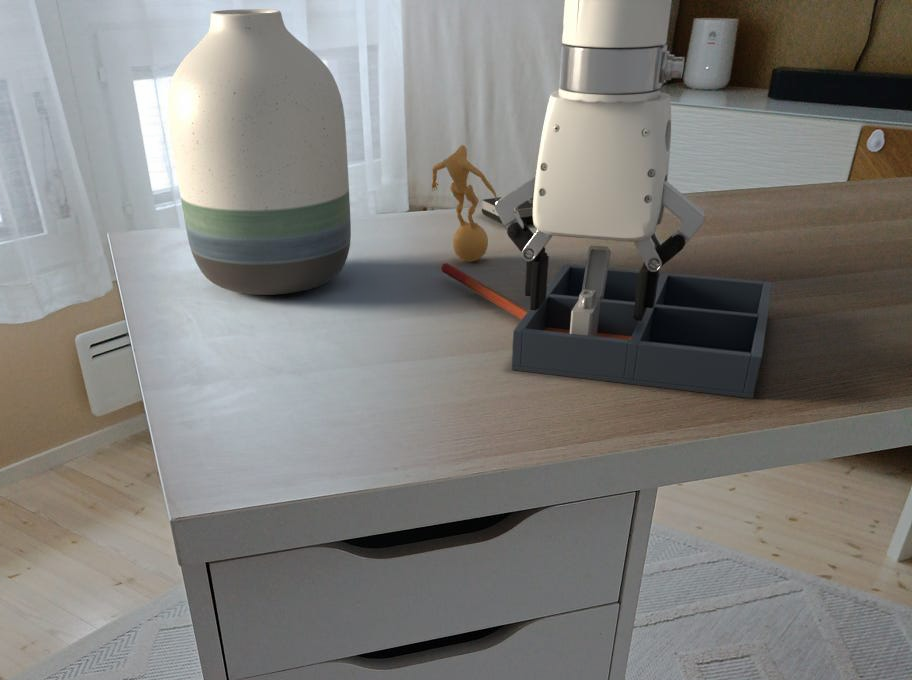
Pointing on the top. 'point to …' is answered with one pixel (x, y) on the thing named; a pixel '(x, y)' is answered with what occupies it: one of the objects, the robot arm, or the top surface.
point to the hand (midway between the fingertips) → (588, 309)
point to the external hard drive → (523, 210)
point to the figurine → (468, 236)
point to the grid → (652, 333)
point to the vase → (260, 157)
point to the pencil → (485, 291)
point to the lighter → (591, 292)
